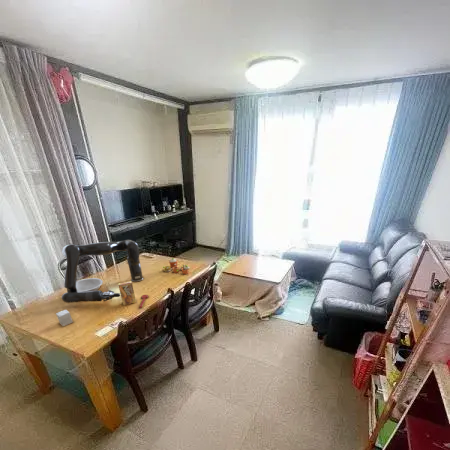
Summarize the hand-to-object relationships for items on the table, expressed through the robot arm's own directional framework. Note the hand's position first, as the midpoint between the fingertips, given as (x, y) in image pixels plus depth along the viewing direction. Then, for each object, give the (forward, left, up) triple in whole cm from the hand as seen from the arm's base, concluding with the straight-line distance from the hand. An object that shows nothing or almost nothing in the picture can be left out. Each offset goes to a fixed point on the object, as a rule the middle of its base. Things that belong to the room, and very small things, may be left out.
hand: (119, 294), depth 177 cm
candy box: (0, +6, -7) cm, 9 cm away
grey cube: (+22, -28, -7) cm, 36 cm away
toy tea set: (-56, +35, -7) cm, 67 cm away
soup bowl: (-20, -31, -7) cm, 38 cm away
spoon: (-1, +15, -6) cm, 16 cm away
